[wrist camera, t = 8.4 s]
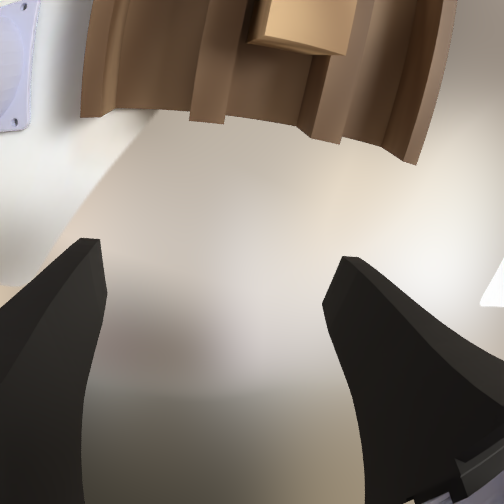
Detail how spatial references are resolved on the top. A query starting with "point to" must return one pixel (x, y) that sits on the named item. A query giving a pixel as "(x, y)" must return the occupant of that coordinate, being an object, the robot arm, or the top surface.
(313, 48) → the tall wooden plank
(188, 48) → the notched ledge
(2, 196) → the top surface
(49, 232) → the top surface
